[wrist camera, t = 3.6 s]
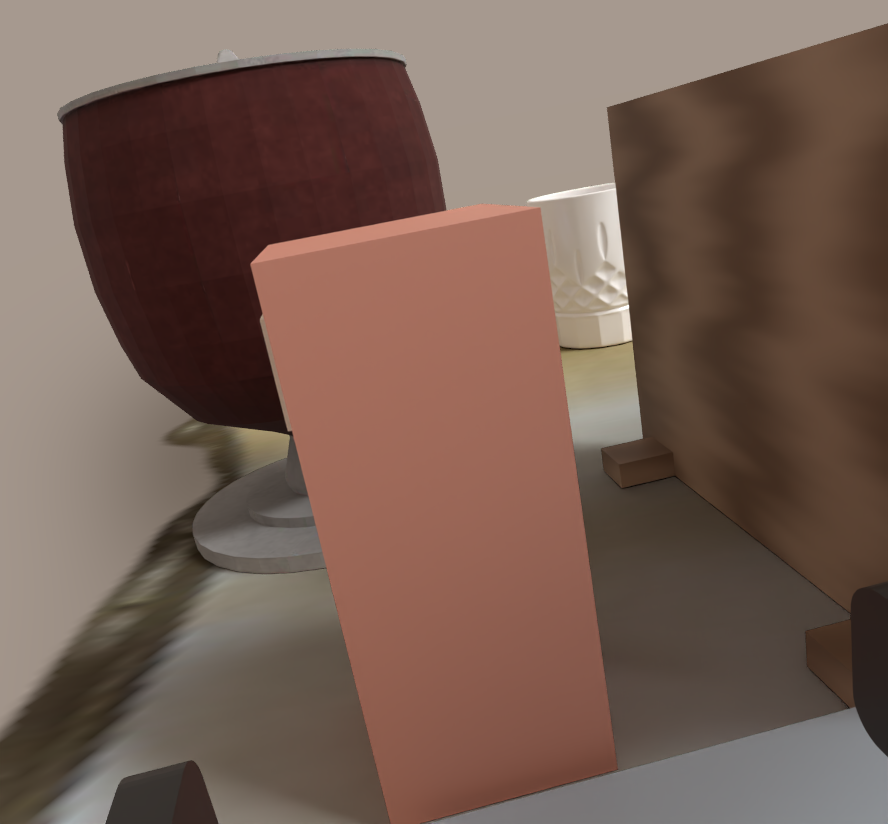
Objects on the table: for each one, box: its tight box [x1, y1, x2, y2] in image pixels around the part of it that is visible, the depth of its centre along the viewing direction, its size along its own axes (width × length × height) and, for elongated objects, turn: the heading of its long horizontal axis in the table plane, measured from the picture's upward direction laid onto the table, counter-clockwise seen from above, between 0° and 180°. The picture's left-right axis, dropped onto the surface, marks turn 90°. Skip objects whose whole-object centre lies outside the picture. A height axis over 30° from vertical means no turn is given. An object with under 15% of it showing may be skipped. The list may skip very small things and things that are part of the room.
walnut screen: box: [601, 24, 888, 708], centre depth 23 cm, size 18×6×14 cm, turn 9°
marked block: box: [250, 204, 618, 824], centre depth 17 cm, size 5×5×12 cm
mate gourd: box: [57, 49, 446, 574], centre depth 32 cm, size 16×14×20 cm
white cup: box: [526, 183, 632, 348], centre depth 53 cm, size 8×8×10 cm
